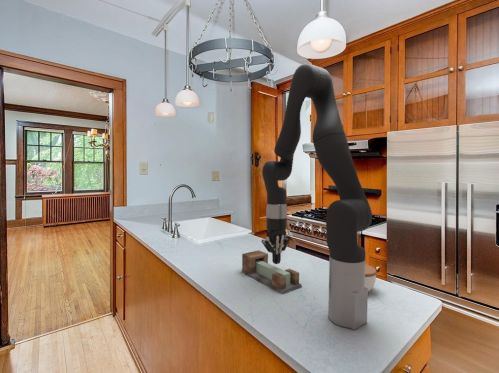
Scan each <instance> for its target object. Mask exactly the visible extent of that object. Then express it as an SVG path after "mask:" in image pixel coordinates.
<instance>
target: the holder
mask: <svg viewBox="0 0 499 373" xmlns="http://www.w3.org/2000/svg"><path fill="white" fill-rule="evenodd" d="M241 257H242V258H241V261H242V262H241V265H242V267H241V273H242V274H244V275H246V276H248V277H250V278H251V279H253V280H255V281H258V282H260V283H261V284H263V285H266V286H267V287H269V288H270V289H272V290H275V291H277V292H278V293H280V294H281V295H285V294H288V293H290V292H293V291H296V290H298V289H300V288H302V287H303V286H302V283H300V272H299V271H296V270H294V269H292V268H287V269H285V270H284V271H287V272H289V273H290V284H289V285H286V277H285V276H283V275H281V274H278V273H273V274H272V280H270V279H268V278H266V277H264V276H262V275H260V274H258V273H256V272H255V259H259V260H261V261H263V262H266V263H268V264H269V254H268V253H266V252H265V251H261V250H260V249H258V250H253V251H250V252H246V253H242V255H241Z"/></svg>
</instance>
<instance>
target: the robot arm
mask: <svg viewBox="0 0 499 373" xmlns="http://www.w3.org/2000/svg"><path fill="white" fill-rule="evenodd" d="M306 98H308V99H310V100H311V101H312V103H313V105H314V109H315V114H316V120H315V124H314V127H313V132H312V142H313V148H314V150H315V155H316V157H317V158H316V159H317V160H318V162H319V164H320V165H321V167H322V169H323V170H324V171H325V173H326V174H327V175H328V177H329V178H330V179H331V180H332V182H333V184H334V186H335V188H336V190H337V193H338V194H337V195H338V197H339V199H338V200H334V201H332V202H331V203H330V204H329V205H328V207H327V211H326V214H325V215H326V216H325V217H326V218H325V226H326V232H325V234H326V246H327V247H328V251H329V262H328V263H329V265H328V266H329V269H328V303H327V304H328V306H327V307H328V309H327V315H328V318H329V320H330V321H331V322H332V323H334V324H335V325H337V326H340V327H343V328H347V329H352V330H353V331H355V330H357V329H359V328H360V327H361V326H364V325H365V324H366V323H368V302H369V301H368V299H369V298H368V296H369V294H368V293H369V291H368V288H366V287H365V264H366V250H365V248H364V247H363V246H360V245H359V244H358V233H359V232H363V231H365V230H367V229H368V228H369V227H370V226H371V224H372V220H373V213H372V208H371V205H370V203H369V201H368V198H367V196H366V193H365V192H364V191H365V190H364V189H363V187H362V183H361V182H360V179H359V177H358V173H357V170H356V166H355V163H354V160H353V157H352V153H351V150H350V146H349V143H348V142H349V141H348V139H347V135H346V133H345V129H344V126H343V123H342V120H341V117H340V113H339V112H340V111H339V108H338V105H337V101H336V100H337V99H336V95H335V89H334V83H333V80H332V75H331V74H330V72H329V71H328V70H327V69H325V68H323V67H321V66H320V67H319V66H317V65H314V64H311V63H308V62H307V63H302V64H300V65H298V67H297V68H296V69H295V71H294V73H293V75H292V78H291V81H290V87H289V91H288V97H287V102H286V107H285V112H284V116H283V117H284V118H283V123H282V126H281V129H280V132H279V134H278V138H277V140H276V144H275V146H274V148H273V149H274V150H273V151H274V154H275V155H276V157H279V158H280V160H276V161H275V160H268V161H266V162H264V165H263V166H262V170H261V172H262V173H261V174H262V180H263V183H264V187H265V191H266V207H265V208H266V210H265V212H266V214H265V216H266V217H265V218H266V220H265V222H266V223H265V225H266V227H265V228H266V230H267V232H266V237H265V238H264V239H262V240H261V243H262V245H263V246H264V249H266V250H267V252H268V253H271V254H272V255H271V256H272V259H271V260H272V263H273V264H275V265H279V264H281V260H282V258H281V257H282V255H281V254H282V252H283V251H286V250H287V249H286V248H287V247H288V245H289V243H290V241H291V239H292V236H291V235H288V234H287V229H288V208H287V190H286V188H285V187H281V186H280V185H279V183H278V182H279V181H286V180H287V179H289V177H290V176H291V175H292V171H293V164H294V156H295V155H294V154H295V152H296V150H297V147H298V145H299V142H300V140H301V137H302V136H301V134H302V127H301V126H302V124H301V111H302V107H303V103H304V101H305V99H306Z"/></svg>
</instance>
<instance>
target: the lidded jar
mask: <svg viewBox="0 0 499 373" xmlns="http://www.w3.org/2000/svg"><path fill="white" fill-rule="evenodd" d="M376 280H377V269H376V268H375V267H373V266H372V265H368V264H366V263H365V287H366V288H368V292H370V291H371V290H372V289H373V288H374V286H375V283H376Z"/></svg>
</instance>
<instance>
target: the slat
mask: <svg viewBox="0 0 499 373" xmlns="http://www.w3.org/2000/svg"><path fill="white" fill-rule="evenodd" d="M255 272H256V273H258V274H260V275H262V276H264V277H266V278H268V279H270V280H272V274H273V273H278V274H281V275H283V276H285V277H286V285H289V284H290V273H289V272H287V271H285V270H284V269H283V268H282V269H281V268H279V267H278V266H275V265H274V264H273V265H272V264H269V262H268V263H266V262H263V261H261V260H259V259H255Z"/></svg>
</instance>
